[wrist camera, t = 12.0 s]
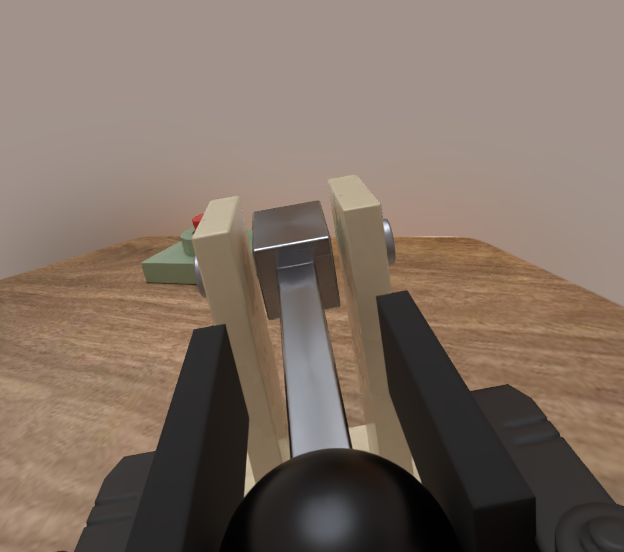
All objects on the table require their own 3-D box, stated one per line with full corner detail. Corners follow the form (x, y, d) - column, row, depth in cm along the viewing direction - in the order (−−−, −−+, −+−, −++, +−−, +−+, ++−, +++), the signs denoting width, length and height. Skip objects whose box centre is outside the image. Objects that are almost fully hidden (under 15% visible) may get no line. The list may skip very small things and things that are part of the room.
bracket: (524, 670, 16) (511, 222, 11) (222, 726, 15) (67, 302, 11) (424, 434, 26) (393, 150, 21) (243, 467, 26) (169, 190, 21)
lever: (508, 763, 7) (521, 622, 5) (242, 812, 7) (163, 687, 5) (351, 274, 18) (338, 177, 17) (250, 293, 18) (226, 197, 17)
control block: (293, 248, 57) (286, 212, 55) (243, 286, 49) (233, 245, 47) (204, 248, 62) (196, 215, 61) (146, 282, 54) (135, 245, 53)
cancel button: (237, 226, 55) (234, 209, 54) (217, 237, 52) (213, 220, 51) (210, 226, 56) (206, 211, 56) (189, 238, 53) (184, 221, 53)
